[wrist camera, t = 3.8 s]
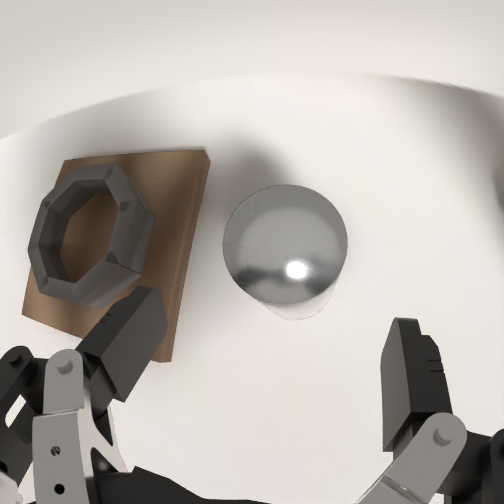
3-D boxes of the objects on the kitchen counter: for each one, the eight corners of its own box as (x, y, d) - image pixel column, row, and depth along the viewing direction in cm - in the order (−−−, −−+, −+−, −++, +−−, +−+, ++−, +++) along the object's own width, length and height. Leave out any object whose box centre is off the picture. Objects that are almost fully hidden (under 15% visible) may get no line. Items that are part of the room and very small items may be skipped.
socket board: (210, 161, 22) (191, 129, 18) (170, 361, 18) (138, 364, 15) (73, 167, 25) (47, 146, 21) (33, 316, 22) (-1, 309, 18)
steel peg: (336, 250, 18) (350, 189, 11) (328, 323, 17) (341, 311, 10) (264, 243, 19) (234, 182, 12) (254, 315, 18) (213, 295, 11)
